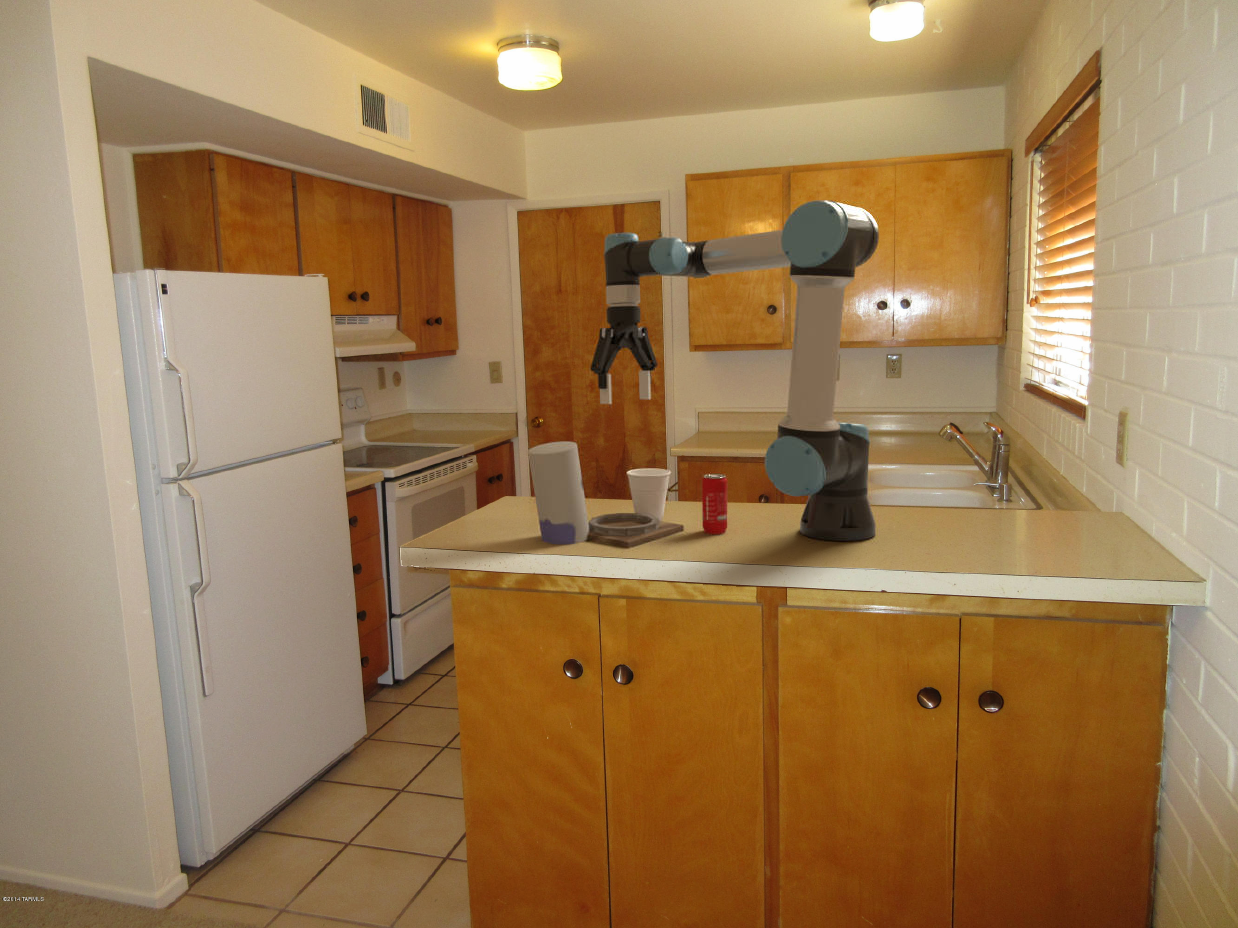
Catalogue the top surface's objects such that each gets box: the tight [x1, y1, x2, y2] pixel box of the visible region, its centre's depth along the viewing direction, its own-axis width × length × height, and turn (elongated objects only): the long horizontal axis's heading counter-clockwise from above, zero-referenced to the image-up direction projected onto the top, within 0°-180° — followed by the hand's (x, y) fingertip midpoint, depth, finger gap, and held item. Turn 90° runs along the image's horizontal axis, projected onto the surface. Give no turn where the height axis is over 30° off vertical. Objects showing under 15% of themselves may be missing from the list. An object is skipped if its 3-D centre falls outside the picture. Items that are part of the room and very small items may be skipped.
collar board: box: [586, 512, 685, 549], centre depth 180 cm, size 18×18×3 cm
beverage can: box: [701, 473, 728, 535], centre depth 179 cm, size 5×5×12 cm
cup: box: [626, 467, 672, 521], centre depth 191 cm, size 10×10×11 cm
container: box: [527, 441, 590, 545], centre depth 175 cm, size 10×10×20 cm
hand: (626, 401), depth 192 cm, fingers open, 13 cm apart
